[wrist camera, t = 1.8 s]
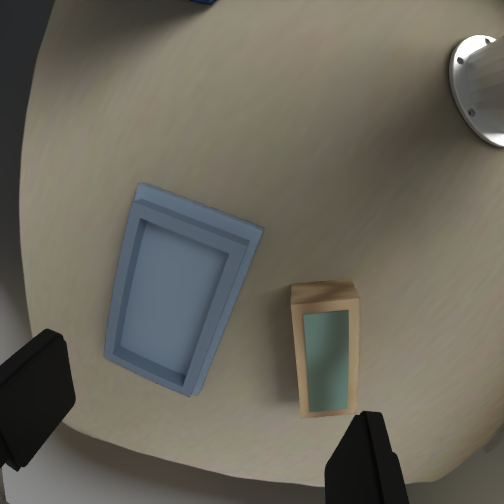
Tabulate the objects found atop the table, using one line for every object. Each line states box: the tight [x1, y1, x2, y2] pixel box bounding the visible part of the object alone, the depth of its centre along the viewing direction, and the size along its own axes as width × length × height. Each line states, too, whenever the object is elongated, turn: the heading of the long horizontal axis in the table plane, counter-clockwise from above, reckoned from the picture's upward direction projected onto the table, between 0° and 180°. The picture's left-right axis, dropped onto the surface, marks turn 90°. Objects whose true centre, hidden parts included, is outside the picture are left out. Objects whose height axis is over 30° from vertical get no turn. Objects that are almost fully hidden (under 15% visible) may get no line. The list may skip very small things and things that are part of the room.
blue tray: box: [104, 183, 264, 397], centre depth 33 cm, size 13×22×3 cm, turn 159°
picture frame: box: [291, 278, 360, 418], centre depth 31 cm, size 6×14×5 cm, turn 8°
